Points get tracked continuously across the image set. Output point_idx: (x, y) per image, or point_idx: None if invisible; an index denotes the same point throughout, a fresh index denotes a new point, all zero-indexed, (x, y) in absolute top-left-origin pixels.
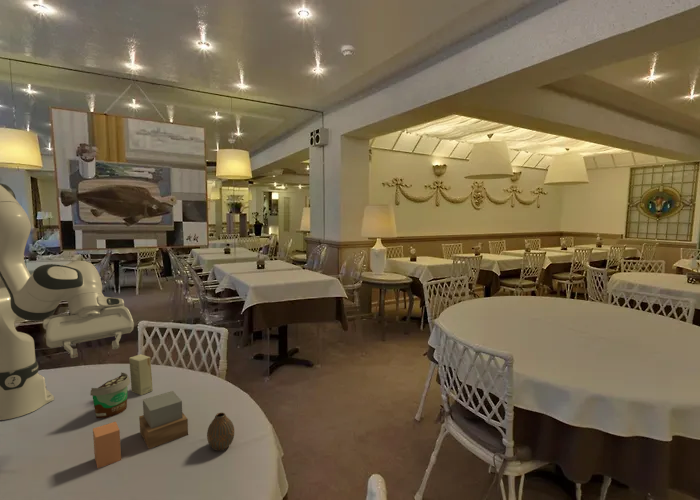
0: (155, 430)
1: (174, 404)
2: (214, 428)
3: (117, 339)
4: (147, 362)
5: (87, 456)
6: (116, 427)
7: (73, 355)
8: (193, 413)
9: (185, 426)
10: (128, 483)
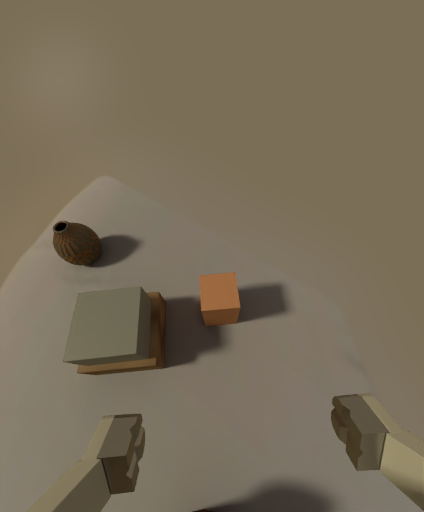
0: (147, 293)
1: (94, 292)
2: (83, 227)
3: (82, 465)
4: None
5: (247, 336)
6: (202, 287)
7: (354, 395)
8: (60, 382)
9: None
10: (201, 244)
